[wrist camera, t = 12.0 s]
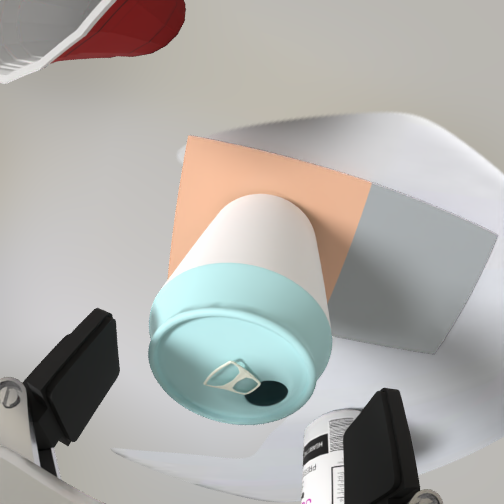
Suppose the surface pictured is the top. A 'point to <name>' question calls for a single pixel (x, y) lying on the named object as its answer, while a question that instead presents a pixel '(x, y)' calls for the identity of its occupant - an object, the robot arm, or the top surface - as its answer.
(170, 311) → the can
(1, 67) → the plastic cup
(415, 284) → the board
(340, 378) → the top surface
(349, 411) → the supplement can
